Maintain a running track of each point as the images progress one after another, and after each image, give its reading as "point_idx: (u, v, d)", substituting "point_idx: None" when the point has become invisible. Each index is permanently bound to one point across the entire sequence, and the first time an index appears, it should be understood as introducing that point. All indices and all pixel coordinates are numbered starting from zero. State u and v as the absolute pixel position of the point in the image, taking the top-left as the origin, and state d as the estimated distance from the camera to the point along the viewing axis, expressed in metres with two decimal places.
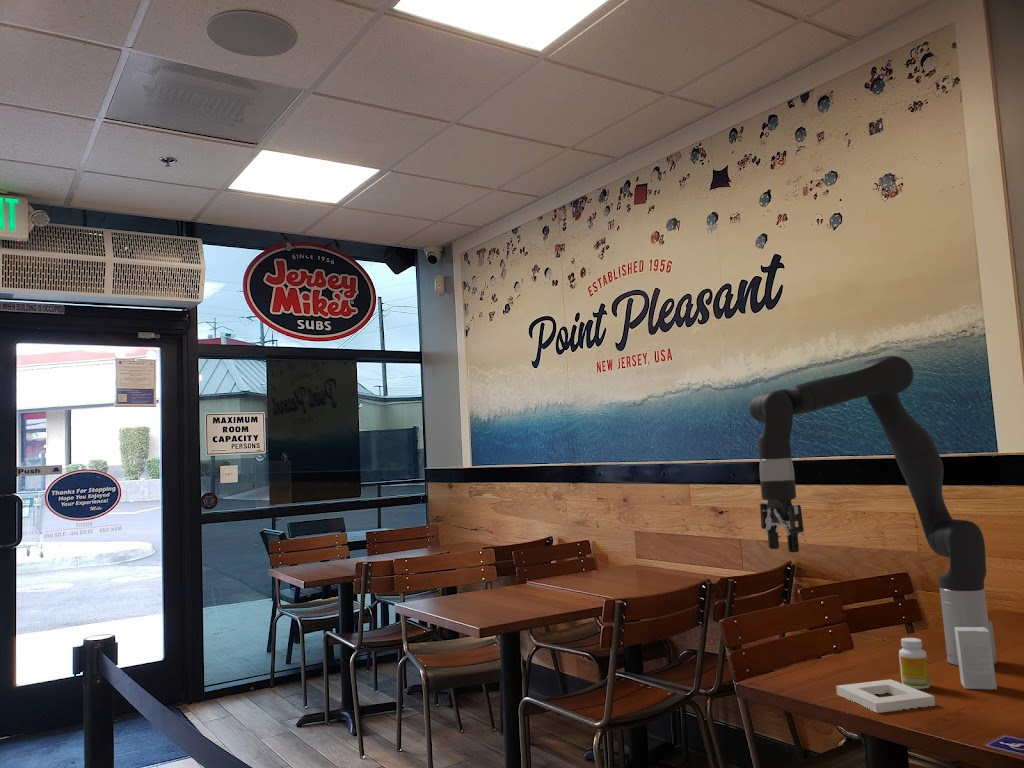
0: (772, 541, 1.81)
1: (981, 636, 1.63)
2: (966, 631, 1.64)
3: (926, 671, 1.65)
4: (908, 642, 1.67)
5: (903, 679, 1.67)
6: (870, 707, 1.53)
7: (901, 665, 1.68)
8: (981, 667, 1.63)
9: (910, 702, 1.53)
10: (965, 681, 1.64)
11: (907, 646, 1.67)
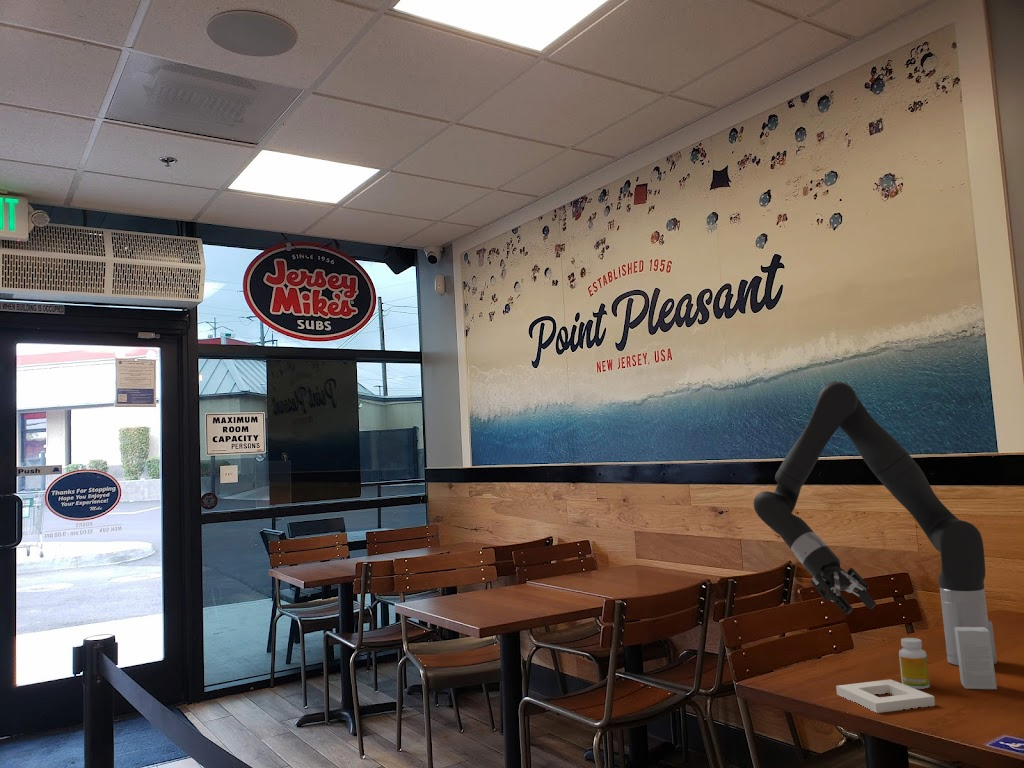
0: (865, 602, 1.82)
1: (981, 636, 1.63)
2: (966, 631, 1.64)
3: (926, 671, 1.65)
4: (908, 642, 1.67)
5: (903, 679, 1.67)
6: (870, 707, 1.53)
7: (901, 665, 1.68)
8: (981, 667, 1.63)
9: (910, 702, 1.53)
10: (965, 681, 1.64)
11: (907, 646, 1.67)
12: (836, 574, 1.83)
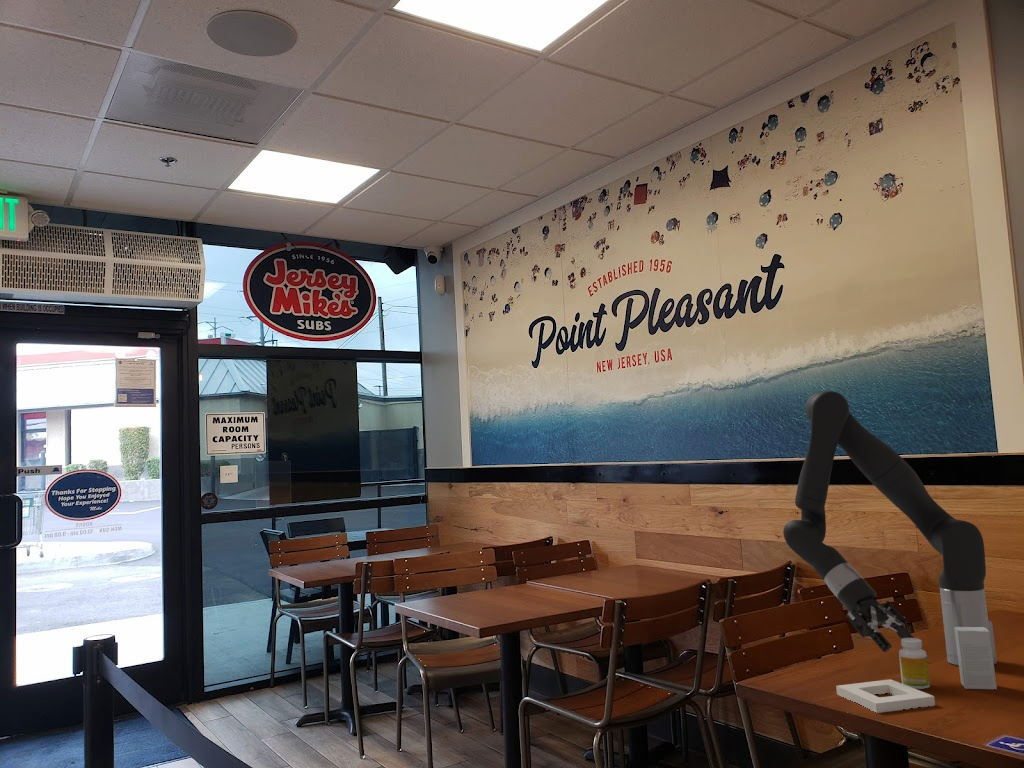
0: None
1: (981, 636, 1.63)
2: (966, 631, 1.64)
3: (926, 671, 1.65)
4: (908, 642, 1.67)
5: (903, 679, 1.67)
6: (870, 707, 1.53)
7: (901, 665, 1.68)
8: (981, 667, 1.63)
9: (910, 702, 1.53)
10: (965, 681, 1.64)
11: (907, 646, 1.67)
12: (873, 608, 1.75)
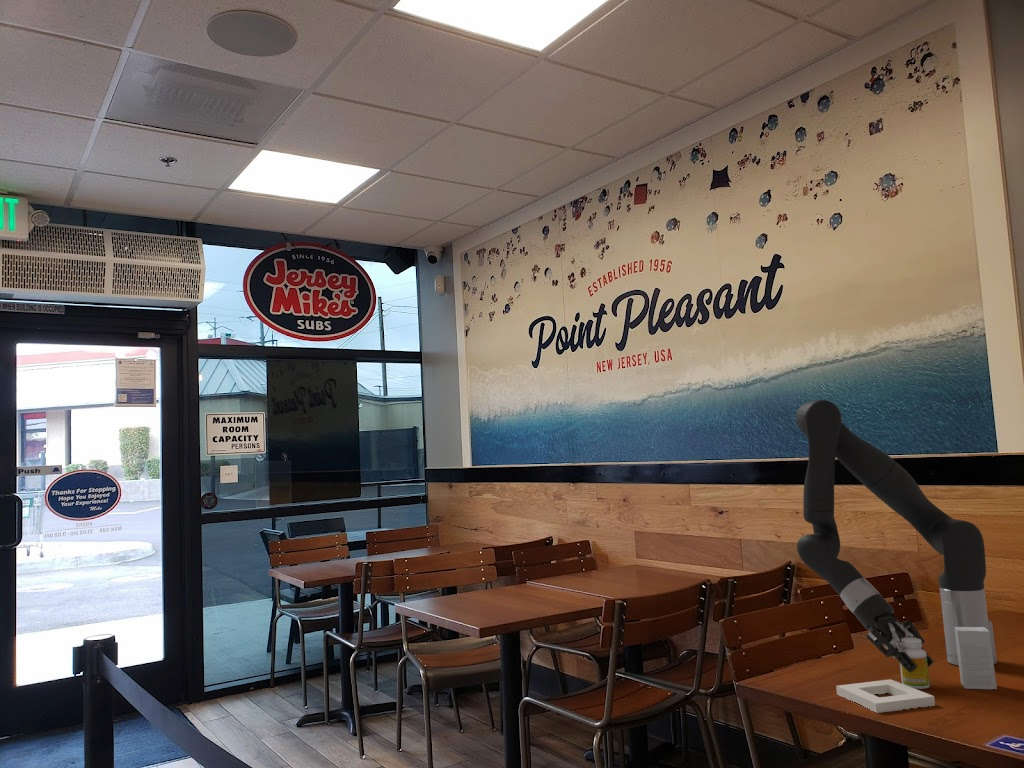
0: None
1: (981, 636, 1.63)
2: (966, 631, 1.64)
3: (926, 671, 1.65)
4: (908, 642, 1.67)
5: (903, 679, 1.67)
6: (870, 707, 1.53)
7: (901, 665, 1.68)
8: (981, 667, 1.63)
9: (910, 702, 1.53)
10: (965, 681, 1.64)
11: (907, 646, 1.67)
12: (891, 625, 1.71)
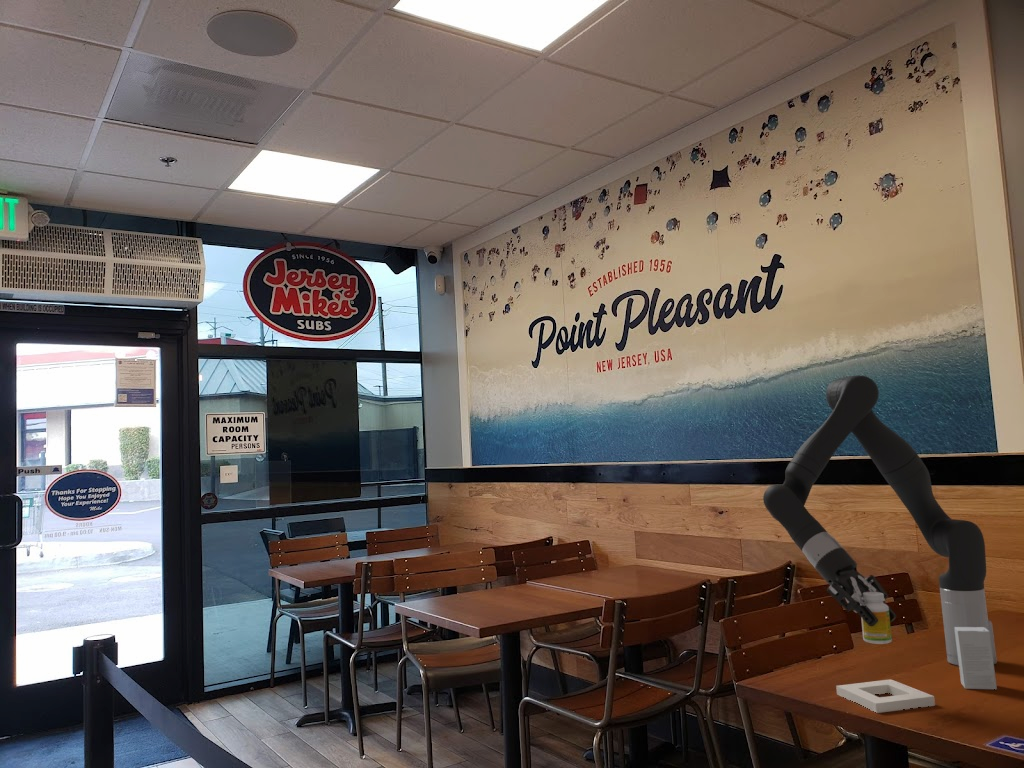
0: None
1: (981, 636, 1.63)
2: (966, 631, 1.64)
3: (888, 625, 1.59)
4: (869, 595, 1.60)
5: (864, 634, 1.60)
6: (870, 707, 1.53)
7: (862, 620, 1.61)
8: (981, 667, 1.63)
9: (910, 702, 1.53)
10: (965, 681, 1.64)
11: (869, 600, 1.60)
12: (853, 579, 1.64)
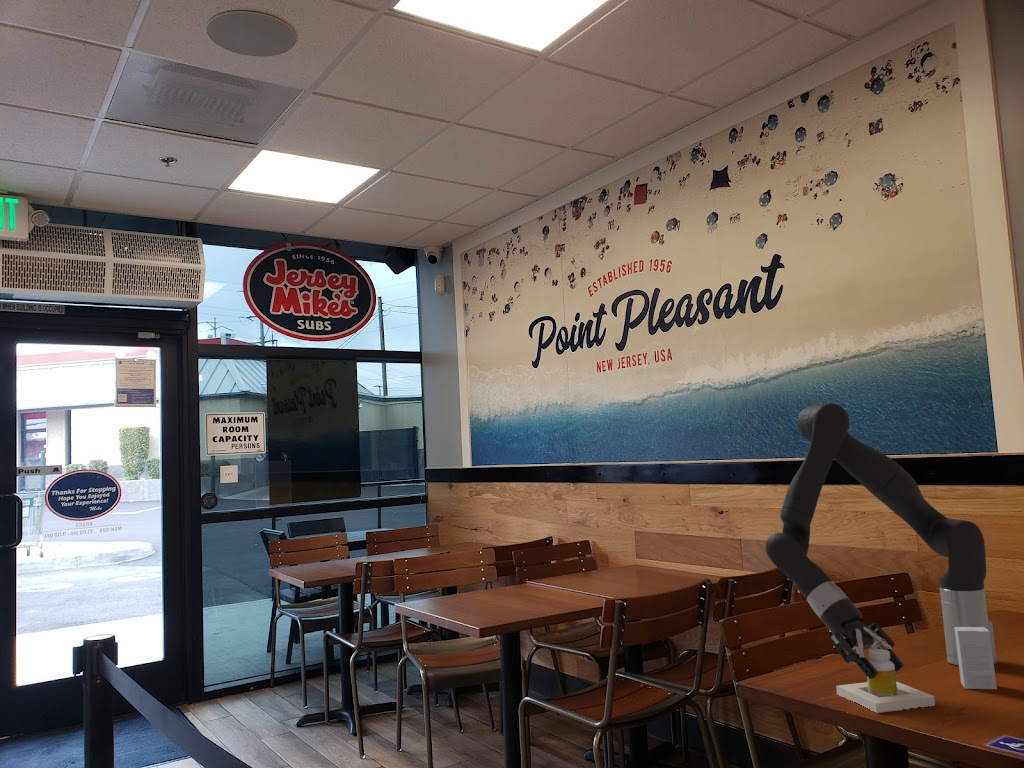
0: None
1: (981, 636, 1.63)
2: (966, 631, 1.64)
3: (894, 684, 1.58)
4: (875, 654, 1.59)
5: (870, 692, 1.59)
6: (870, 707, 1.53)
7: (868, 678, 1.60)
8: (981, 667, 1.63)
9: (910, 702, 1.53)
10: (965, 681, 1.64)
11: (874, 658, 1.59)
12: (858, 631, 1.63)
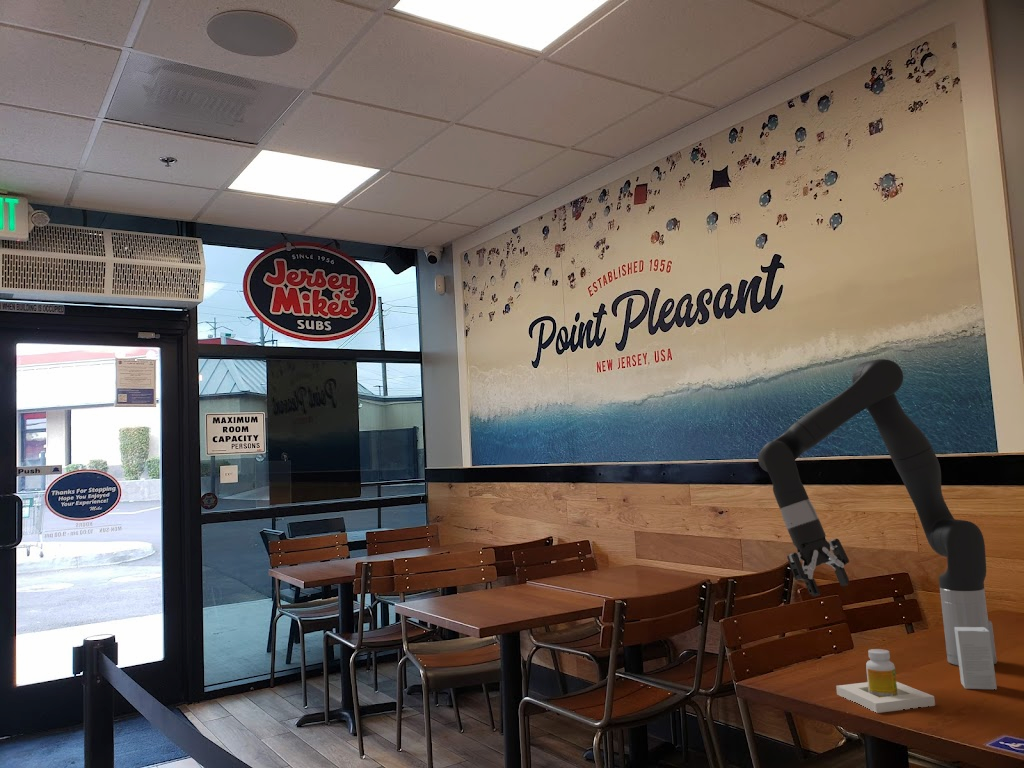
0: (839, 578, 1.81)
1: (981, 636, 1.63)
2: (966, 631, 1.64)
3: (894, 684, 1.58)
4: (875, 654, 1.59)
5: (870, 692, 1.59)
6: (870, 707, 1.53)
7: (868, 678, 1.60)
8: (981, 667, 1.63)
9: (910, 702, 1.53)
10: (965, 681, 1.64)
11: (874, 658, 1.59)
12: (816, 553, 1.79)
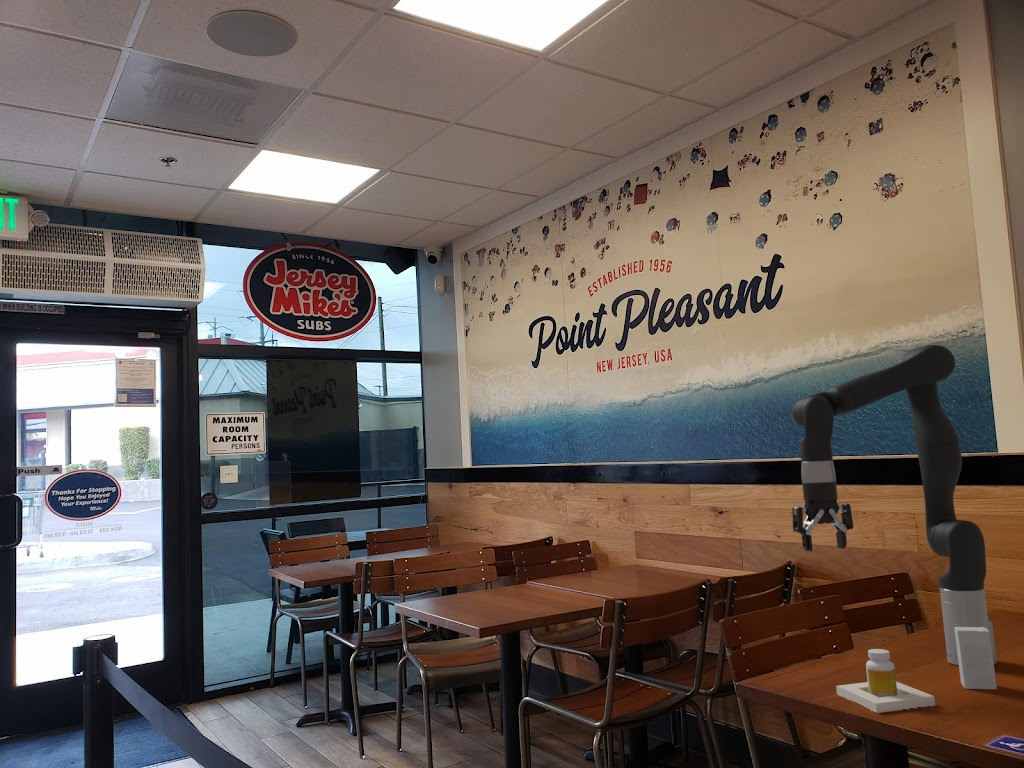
0: (838, 541, 1.84)
1: (981, 636, 1.63)
2: (966, 631, 1.64)
3: (894, 684, 1.58)
4: (875, 654, 1.59)
5: (870, 692, 1.59)
6: (870, 707, 1.53)
7: (868, 678, 1.60)
8: (981, 667, 1.63)
9: (910, 702, 1.53)
10: (965, 681, 1.64)
11: (874, 658, 1.59)
12: (821, 512, 1.82)
